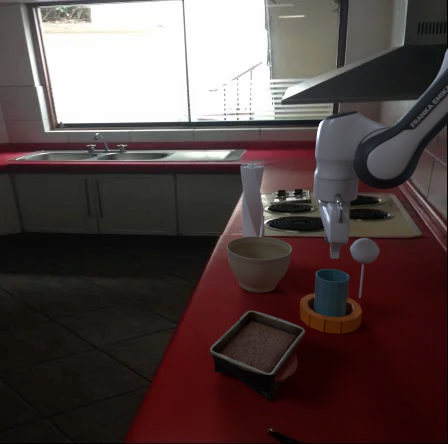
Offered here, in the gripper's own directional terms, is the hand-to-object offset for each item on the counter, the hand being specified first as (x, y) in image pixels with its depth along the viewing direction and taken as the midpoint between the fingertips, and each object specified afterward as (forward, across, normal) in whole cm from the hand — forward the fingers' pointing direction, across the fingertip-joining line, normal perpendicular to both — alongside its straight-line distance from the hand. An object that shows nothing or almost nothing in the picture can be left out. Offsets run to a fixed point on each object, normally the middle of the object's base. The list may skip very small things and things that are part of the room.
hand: (331, 249), depth 94 cm
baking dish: (+14, -27, +15) cm, 34 cm away
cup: (+14, -5, 0) cm, 15 cm away
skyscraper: (+14, +39, +19) cm, 45 cm away
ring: (+14, -6, 0) cm, 15 cm away
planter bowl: (+14, +8, +16) cm, 23 cm away
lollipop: (+14, +5, -8) cm, 17 cm away
